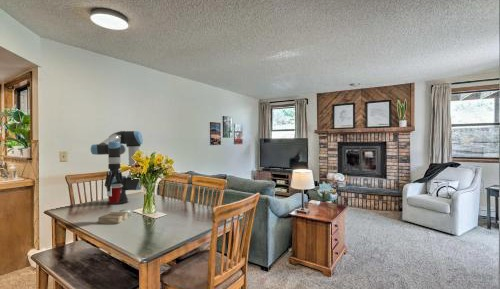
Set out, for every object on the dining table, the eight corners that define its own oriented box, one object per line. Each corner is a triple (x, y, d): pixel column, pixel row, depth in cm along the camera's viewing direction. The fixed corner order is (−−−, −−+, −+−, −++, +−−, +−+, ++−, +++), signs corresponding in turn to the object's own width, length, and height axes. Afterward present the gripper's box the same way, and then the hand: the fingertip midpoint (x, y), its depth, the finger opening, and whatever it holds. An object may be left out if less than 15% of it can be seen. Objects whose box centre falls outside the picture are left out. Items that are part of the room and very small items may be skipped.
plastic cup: (107, 204, 169) (107, 186, 169) (103, 201, 177) (103, 185, 177) (124, 202, 177) (124, 185, 177) (120, 199, 184) (120, 183, 184)
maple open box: (110, 217, 184) (110, 212, 184) (129, 217, 184) (129, 212, 184) (98, 223, 170) (98, 217, 170) (118, 223, 170) (118, 217, 170)
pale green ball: (123, 214, 193) (123, 209, 193) (133, 214, 193) (133, 209, 193) (116, 217, 185) (116, 212, 185) (127, 217, 185) (127, 212, 185)
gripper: (118, 162, 189) (118, 191, 189) (98, 164, 165) (98, 197, 165) (128, 162, 188) (128, 191, 188) (109, 164, 165) (109, 197, 165)
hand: (114, 194), depth 177 cm, fingers closed on plastic cup, 11 cm apart
